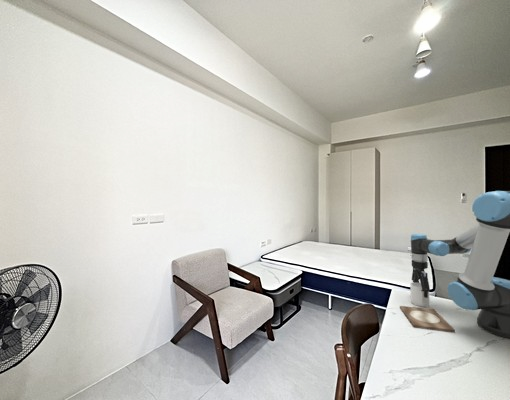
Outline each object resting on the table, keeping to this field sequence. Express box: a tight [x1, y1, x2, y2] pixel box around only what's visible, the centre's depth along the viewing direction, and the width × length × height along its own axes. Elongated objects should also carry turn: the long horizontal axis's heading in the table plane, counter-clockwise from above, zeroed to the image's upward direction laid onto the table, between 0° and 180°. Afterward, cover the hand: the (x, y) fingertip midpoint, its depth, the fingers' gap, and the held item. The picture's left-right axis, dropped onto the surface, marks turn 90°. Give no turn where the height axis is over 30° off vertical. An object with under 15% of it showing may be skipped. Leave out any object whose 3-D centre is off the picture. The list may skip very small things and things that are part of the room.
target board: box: [399, 305, 456, 334], centre depth 111 cm, size 16×20×1 cm
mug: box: [409, 282, 431, 308], centre depth 128 cm, size 9×12×11 cm
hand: (420, 298), depth 128 cm, fingers open, 11 cm apart
